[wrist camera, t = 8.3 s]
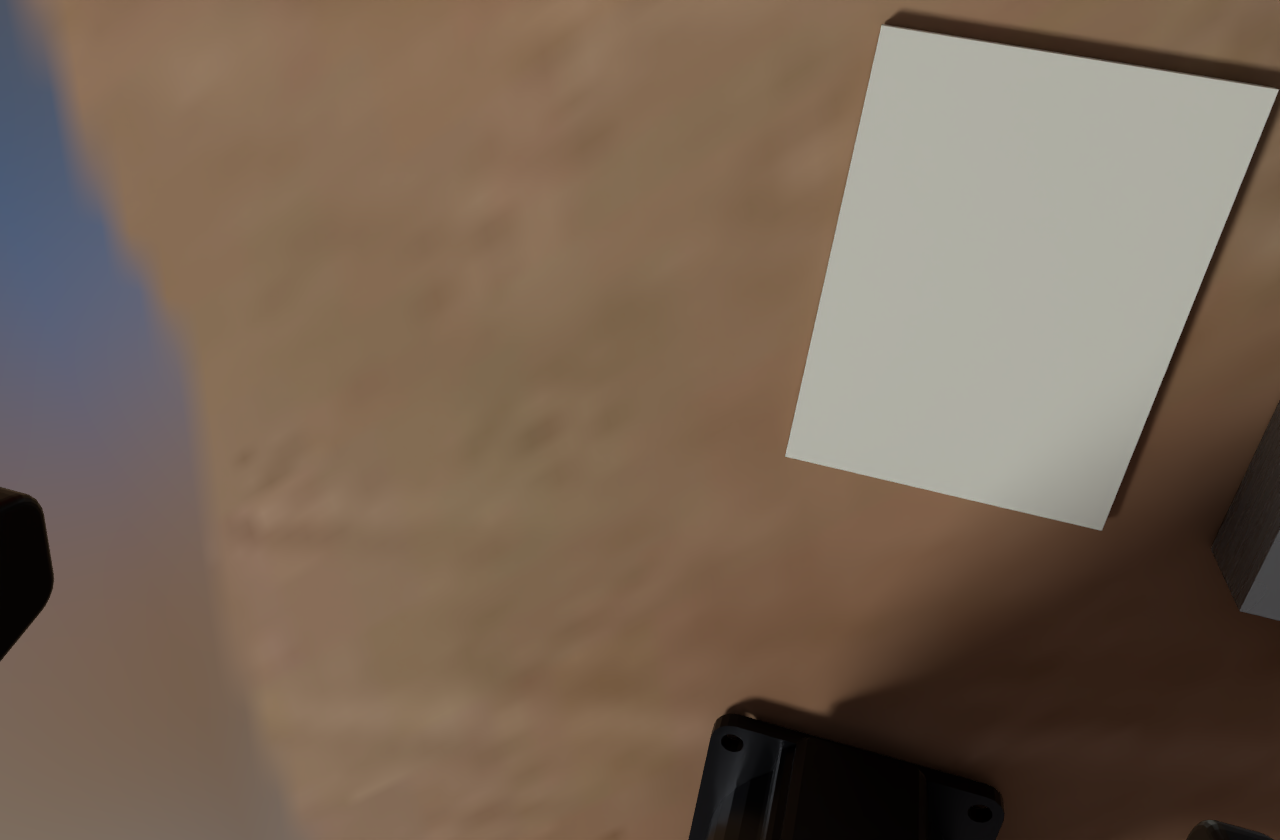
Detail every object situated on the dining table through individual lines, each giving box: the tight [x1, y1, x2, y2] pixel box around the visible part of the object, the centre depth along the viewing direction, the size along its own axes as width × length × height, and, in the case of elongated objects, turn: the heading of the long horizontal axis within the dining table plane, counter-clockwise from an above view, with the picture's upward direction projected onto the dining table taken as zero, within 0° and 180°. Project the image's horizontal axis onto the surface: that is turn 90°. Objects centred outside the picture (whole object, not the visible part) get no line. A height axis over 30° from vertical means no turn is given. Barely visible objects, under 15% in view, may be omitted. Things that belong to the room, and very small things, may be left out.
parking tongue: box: [785, 24, 1279, 531], centre depth 18 cm, size 8×6×1 cm
